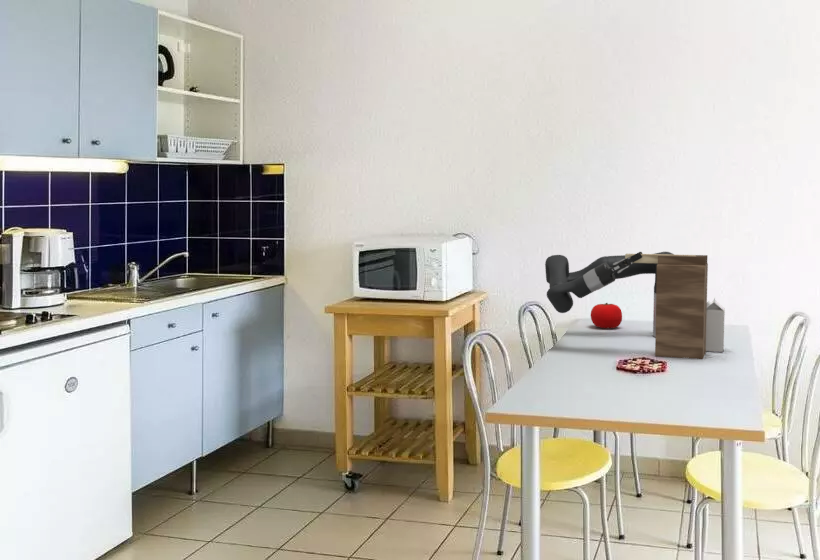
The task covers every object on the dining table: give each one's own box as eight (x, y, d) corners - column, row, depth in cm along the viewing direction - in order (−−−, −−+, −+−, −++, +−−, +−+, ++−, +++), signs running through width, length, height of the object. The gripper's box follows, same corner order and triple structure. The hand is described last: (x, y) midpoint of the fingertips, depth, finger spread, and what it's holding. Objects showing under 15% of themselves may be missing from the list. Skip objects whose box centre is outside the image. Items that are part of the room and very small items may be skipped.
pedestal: (659, 350, 357) (661, 253, 354) (705, 353, 352) (708, 254, 348) (655, 356, 346) (657, 256, 343) (702, 359, 341) (705, 257, 337)
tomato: (625, 330, 406) (625, 305, 405) (593, 330, 406) (593, 305, 405) (618, 325, 420) (618, 300, 419) (587, 325, 420) (588, 301, 419)
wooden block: (626, 261, 354) (626, 253, 354) (696, 263, 346) (696, 255, 345) (625, 262, 351) (625, 254, 351) (695, 264, 343) (695, 255, 342)
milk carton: (723, 349, 360) (725, 297, 358) (723, 352, 353) (724, 299, 351) (703, 348, 362) (704, 296, 360) (702, 351, 355) (703, 298, 353)
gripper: (607, 284, 363) (649, 261, 357) (600, 288, 350) (644, 265, 344) (597, 266, 364) (639, 243, 357) (590, 270, 350) (633, 246, 344)
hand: (641, 254), depth 351 cm, fingers closed on wooden block, 3 cm apart
